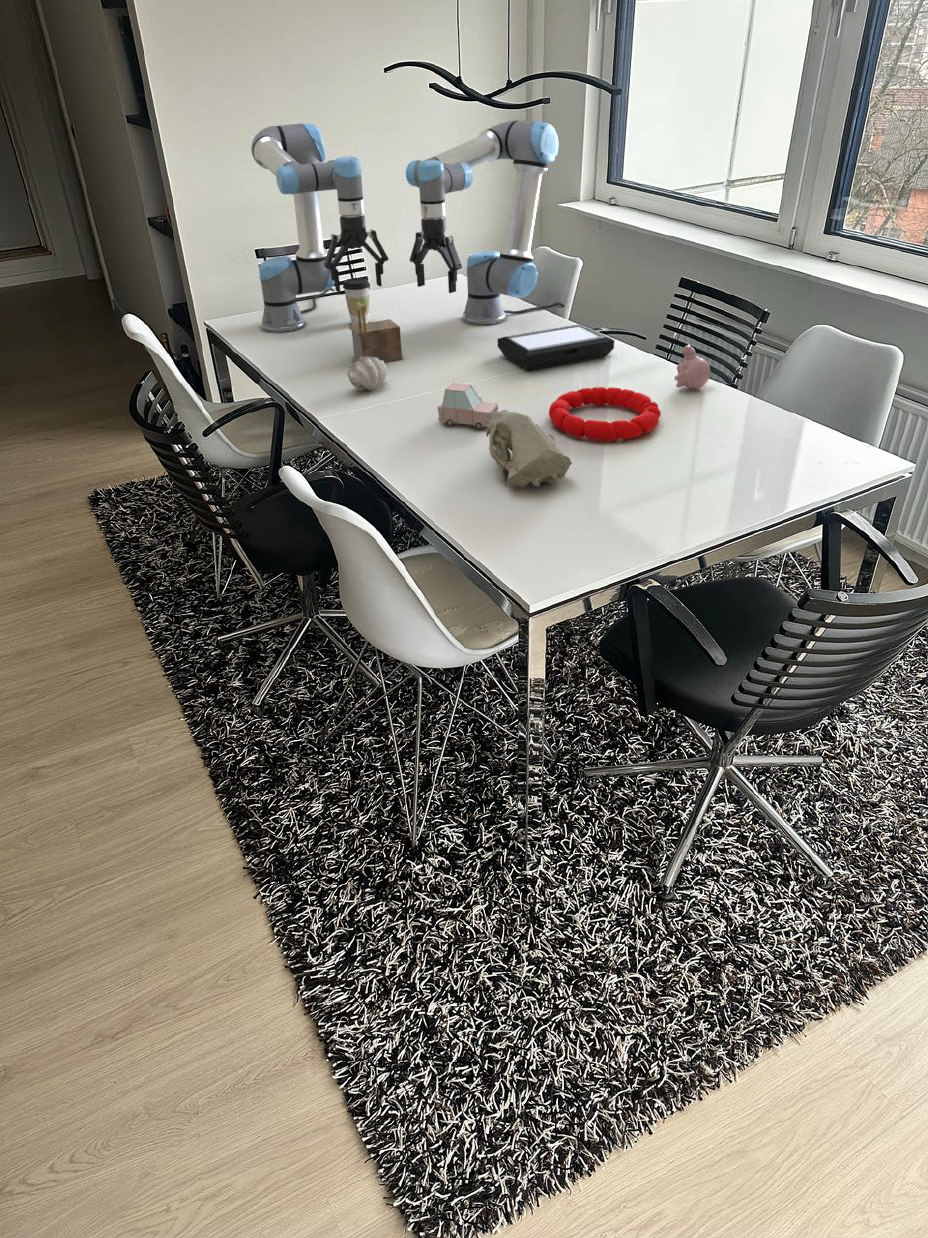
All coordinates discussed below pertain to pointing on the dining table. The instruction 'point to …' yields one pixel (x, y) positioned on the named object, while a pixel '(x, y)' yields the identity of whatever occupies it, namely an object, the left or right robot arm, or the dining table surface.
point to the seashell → (367, 372)
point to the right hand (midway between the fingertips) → (436, 288)
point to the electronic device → (555, 346)
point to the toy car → (465, 406)
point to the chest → (378, 346)
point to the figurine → (692, 370)
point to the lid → (371, 324)
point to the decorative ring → (604, 428)
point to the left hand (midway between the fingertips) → (358, 288)
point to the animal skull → (525, 450)
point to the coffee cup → (357, 297)
